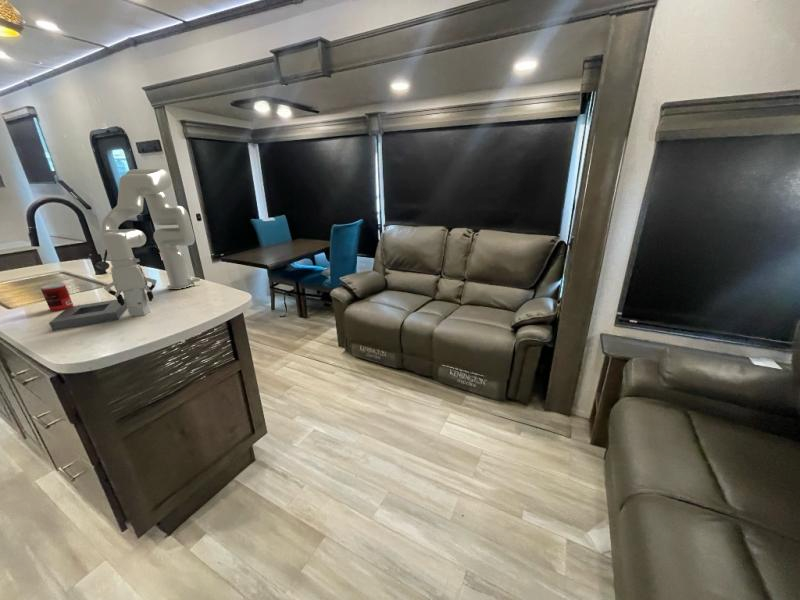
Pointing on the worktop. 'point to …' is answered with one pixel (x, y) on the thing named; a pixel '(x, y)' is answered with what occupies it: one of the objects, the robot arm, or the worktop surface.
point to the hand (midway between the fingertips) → (137, 302)
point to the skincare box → (136, 302)
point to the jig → (88, 314)
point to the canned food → (57, 296)
